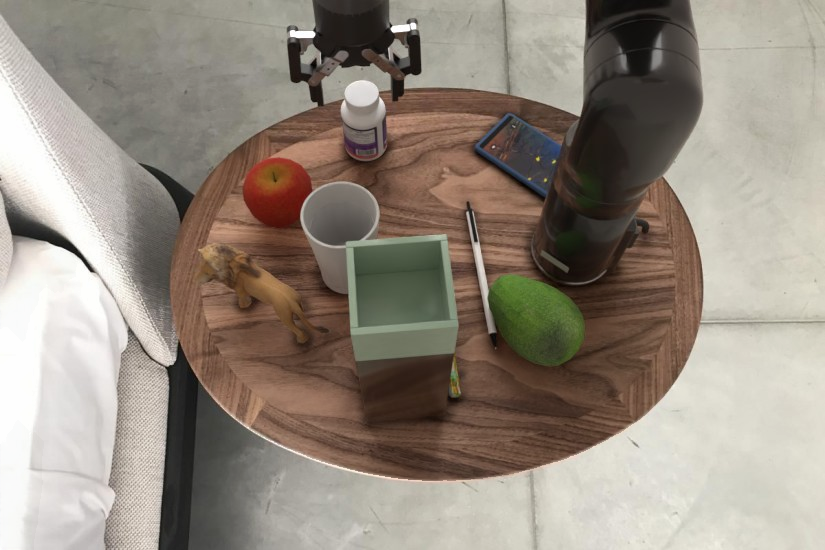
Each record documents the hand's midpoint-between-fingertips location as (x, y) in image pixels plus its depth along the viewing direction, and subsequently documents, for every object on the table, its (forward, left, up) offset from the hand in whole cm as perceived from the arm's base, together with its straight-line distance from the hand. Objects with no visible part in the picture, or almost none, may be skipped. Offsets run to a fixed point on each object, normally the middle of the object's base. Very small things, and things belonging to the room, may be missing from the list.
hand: (357, 98), depth 83 cm
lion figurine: (+12, +22, -9) cm, 26 cm away
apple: (+10, +9, -9) cm, 16 cm away
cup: (+3, +17, -9) cm, 20 cm away
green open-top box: (-3, +31, -9) cm, 33 cm away
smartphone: (-16, -1, -9) cm, 19 cm away
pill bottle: (-1, 0, -9) cm, 9 cm away
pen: (-13, +19, -9) cm, 25 cm away
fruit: (-20, +32, -4) cm, 38 cm away
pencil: (-8, +25, -9) cm, 27 cm away
